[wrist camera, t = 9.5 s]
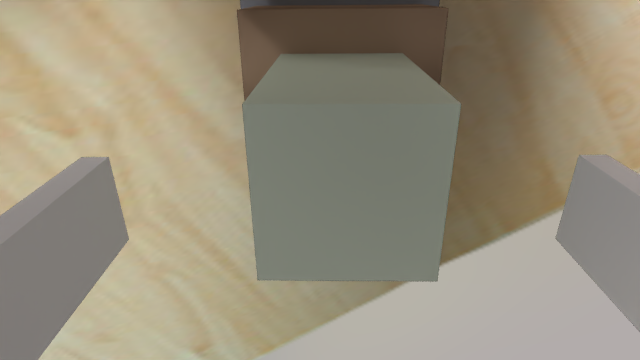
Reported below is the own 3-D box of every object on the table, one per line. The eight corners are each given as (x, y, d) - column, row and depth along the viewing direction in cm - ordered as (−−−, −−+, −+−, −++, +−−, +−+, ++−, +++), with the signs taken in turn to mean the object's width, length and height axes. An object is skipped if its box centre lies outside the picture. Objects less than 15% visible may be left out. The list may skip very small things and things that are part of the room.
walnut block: (257, 5, 25) (236, 10, 20) (422, 4, 25) (448, 8, 20) (267, 158, 29) (252, 197, 24) (409, 158, 29) (427, 197, 24)
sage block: (280, 53, 21) (242, 104, 11) (402, 53, 20) (461, 103, 11) (286, 165, 23) (257, 280, 14) (394, 165, 23) (437, 281, 14)
